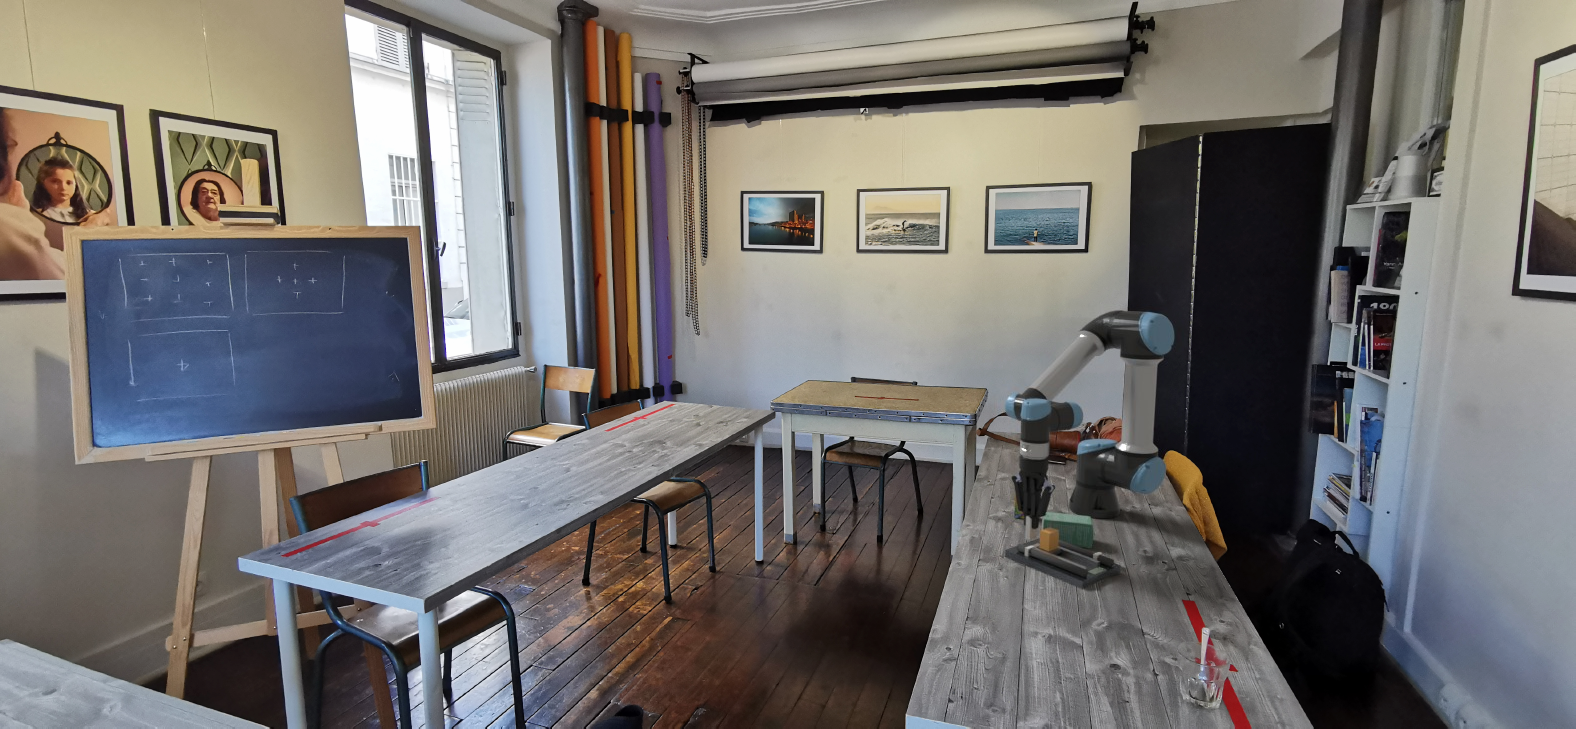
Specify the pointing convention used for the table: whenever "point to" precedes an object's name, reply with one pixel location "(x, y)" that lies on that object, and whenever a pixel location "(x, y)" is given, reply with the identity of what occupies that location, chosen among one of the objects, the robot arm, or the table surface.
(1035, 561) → the panel
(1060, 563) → the pair of grey rails
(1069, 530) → the box
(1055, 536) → the orange rectangular block
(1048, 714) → the table surface
